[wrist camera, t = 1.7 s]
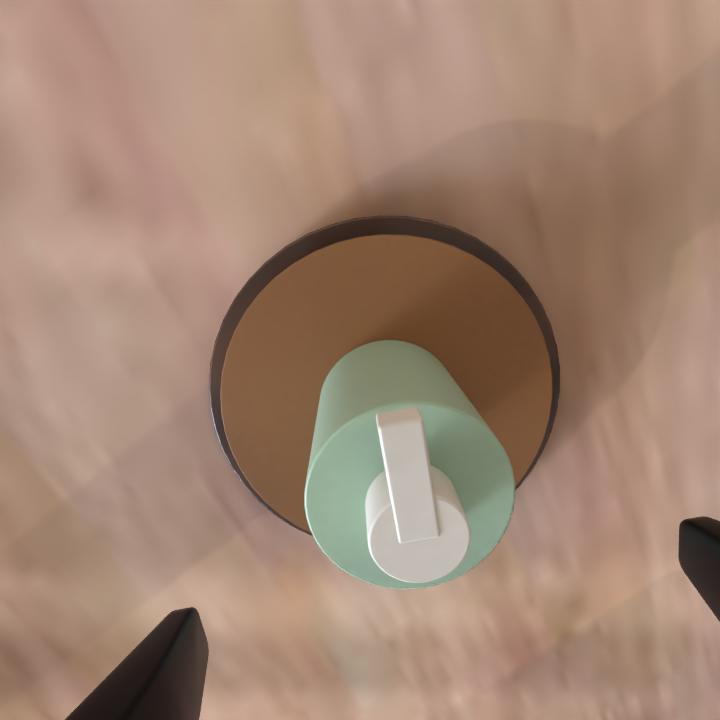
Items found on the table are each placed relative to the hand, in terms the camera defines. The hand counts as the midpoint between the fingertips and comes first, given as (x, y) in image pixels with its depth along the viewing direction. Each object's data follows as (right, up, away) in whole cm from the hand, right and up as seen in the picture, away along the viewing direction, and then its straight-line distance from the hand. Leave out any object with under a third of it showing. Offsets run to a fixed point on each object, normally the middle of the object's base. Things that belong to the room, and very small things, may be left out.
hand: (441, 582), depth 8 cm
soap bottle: (0, +2, +11) cm, 11 cm away
